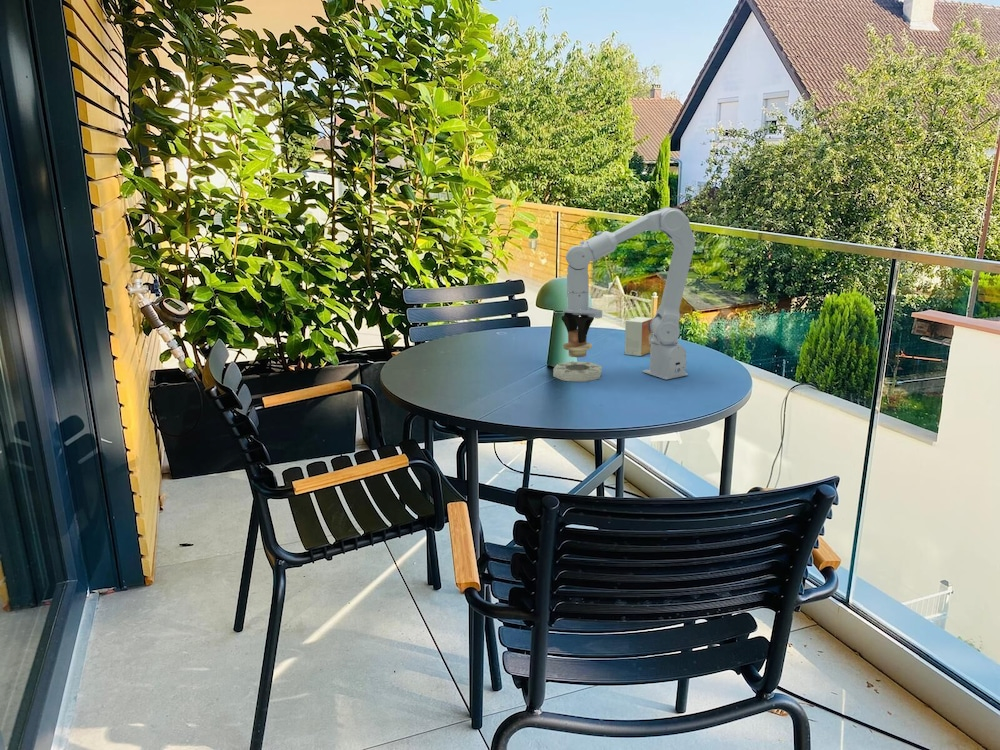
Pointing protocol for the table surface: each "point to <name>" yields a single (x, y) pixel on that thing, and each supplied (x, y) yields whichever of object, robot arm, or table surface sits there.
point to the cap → (576, 345)
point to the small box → (638, 336)
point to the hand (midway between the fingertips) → (577, 341)
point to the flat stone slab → (577, 371)
